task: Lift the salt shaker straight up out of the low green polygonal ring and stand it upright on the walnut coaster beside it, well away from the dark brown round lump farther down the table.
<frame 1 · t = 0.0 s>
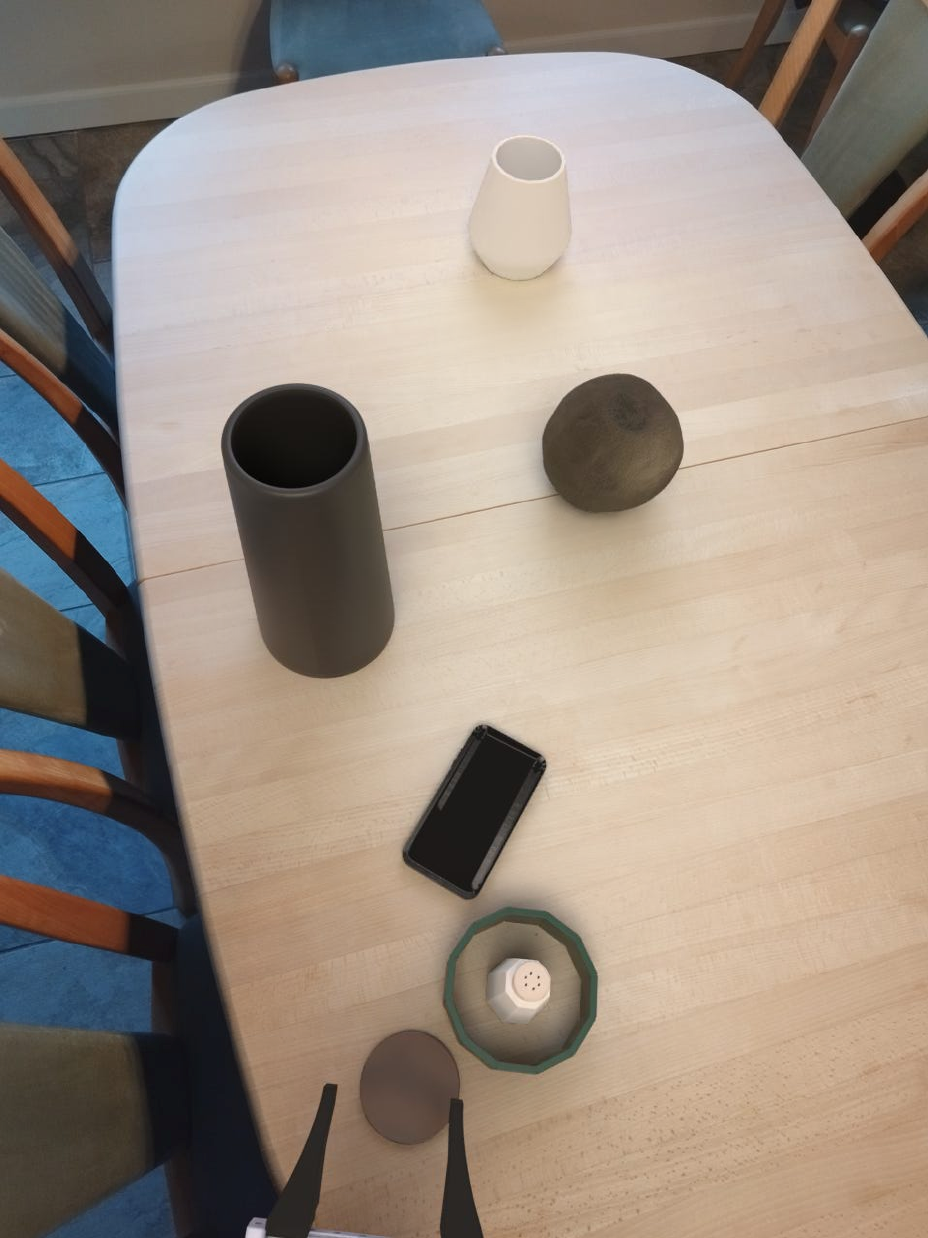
hand: (394, 1093, 52), 20 cm above the table, tool horizontal, fingers open, 7 cm apart
phone: (475, 810, 80), on the table
dark brown round lump: (596, 490, 98), on the table
vase: (327, 618, 89), on the table
salt shaker: (515, 991, 74), resting in green polygonal ring
coaster: (409, 1086, 70), on the table
cup: (515, 256, 114), on the table
green polygonal ring: (515, 991, 74), on the table
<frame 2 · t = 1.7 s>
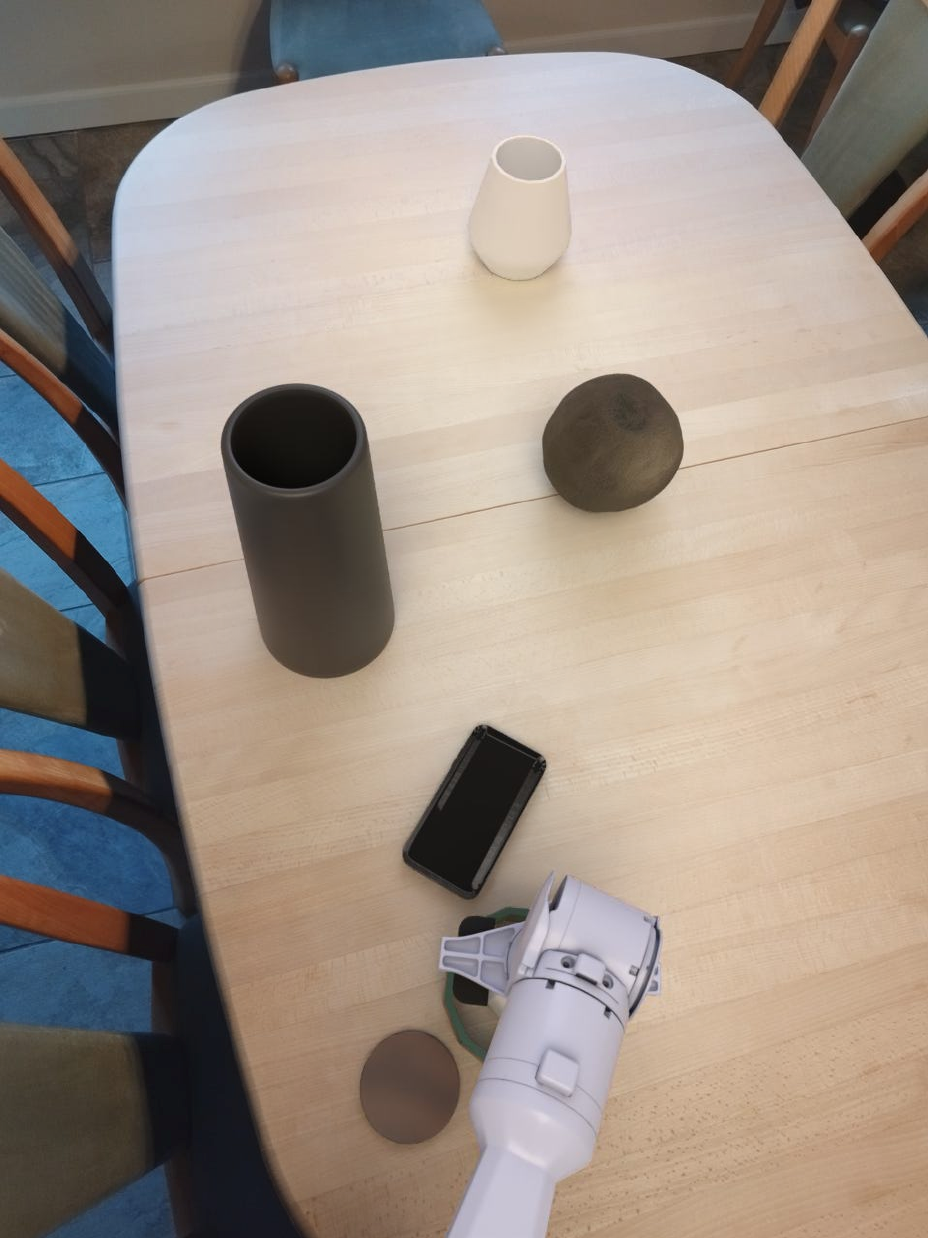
hand: (533, 974, 65), 10 cm above the table, tool pointing down, fingers open, 7 cm apart
nothing on the table moved.
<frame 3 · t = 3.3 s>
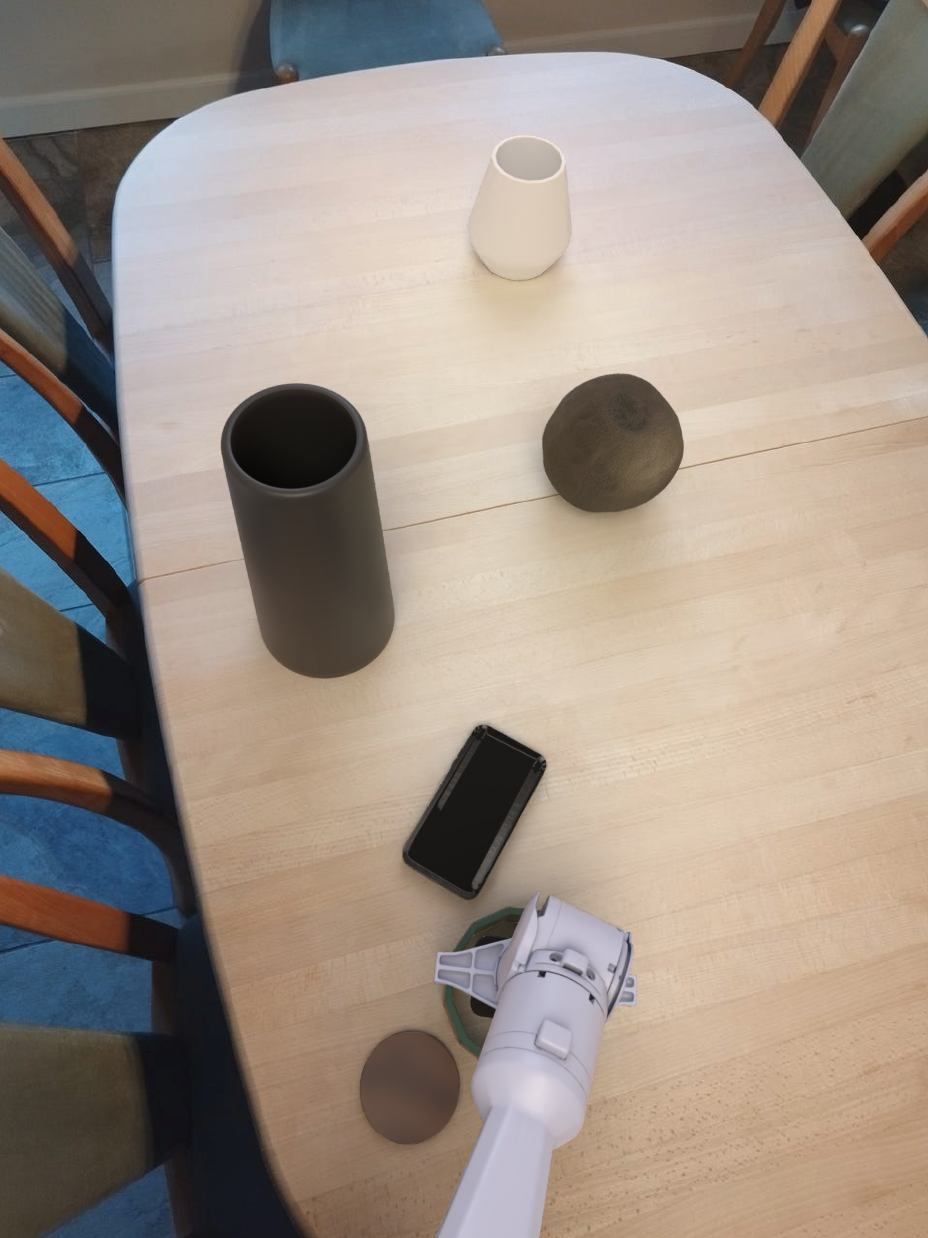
hand: (521, 987, 70), 4 cm above the table, tool pointing down, fingers closed on salt shaker, 3 cm apart
salt shaker: (515, 991, 74), resting in green polygonal ring, touching gripper
everything else where it was.
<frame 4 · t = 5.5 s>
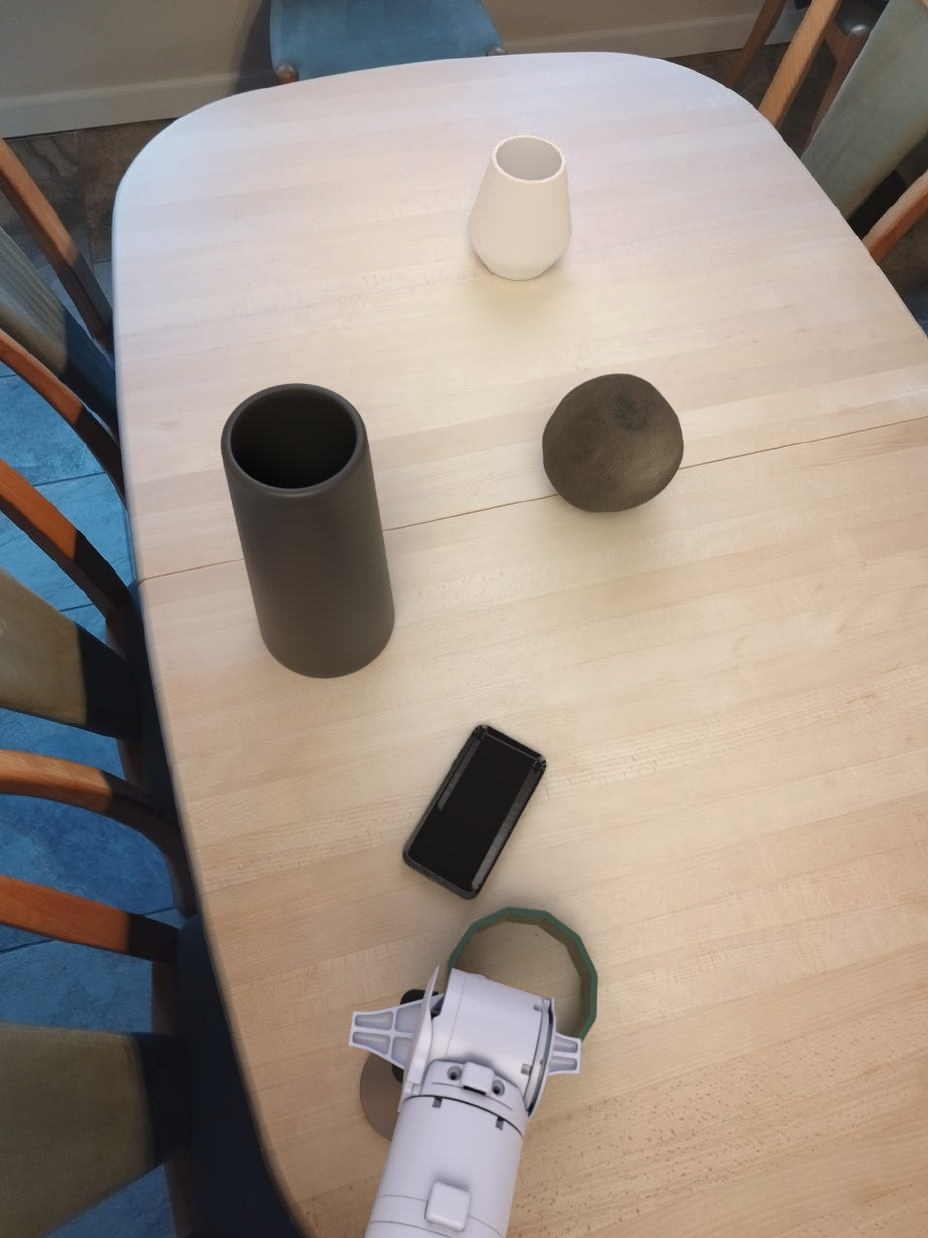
hand: (458, 1042, 62), 10 cm above the table, tool pointing down, fingers closed on salt shaker, 3 cm apart
salt shaker: (456, 1041, 66), point 6 cm above the table, touching gripper
everything else where it was.
when the fingers open (4 cm above the table, at t = 8.0 s): salt shaker stays where it is, resting on coaster.
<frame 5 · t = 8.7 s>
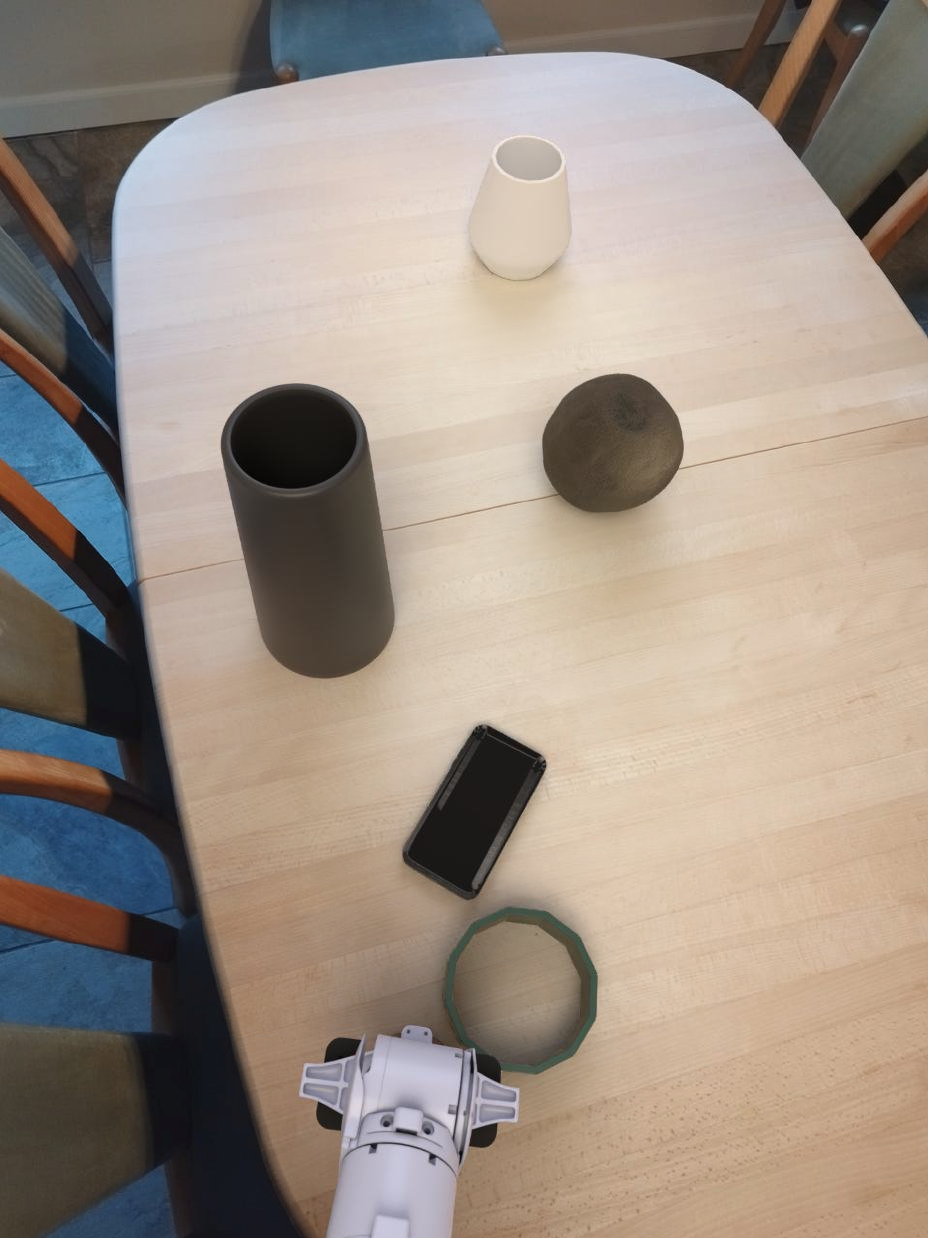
hand: (410, 1088, 66), 5 cm above the table, tool pointing down, fingers open, 7 cm apart
salt shaker: (409, 1086, 70), resting on coaster
everything else where it was.
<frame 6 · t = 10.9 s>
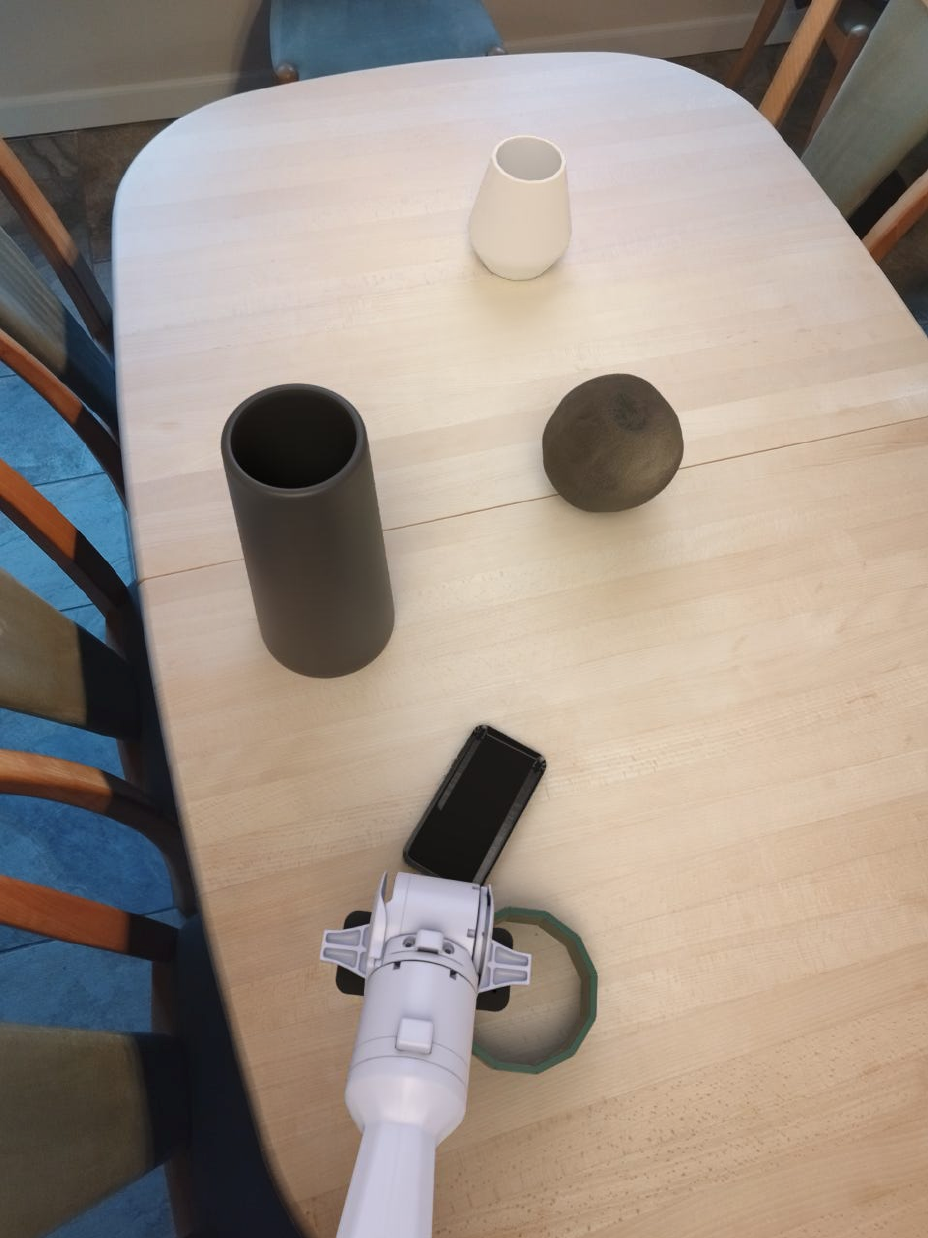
hand: (424, 969, 68), 7 cm above the table, tool pointing down, fingers open, 7 cm apart
nothing on the table moved.
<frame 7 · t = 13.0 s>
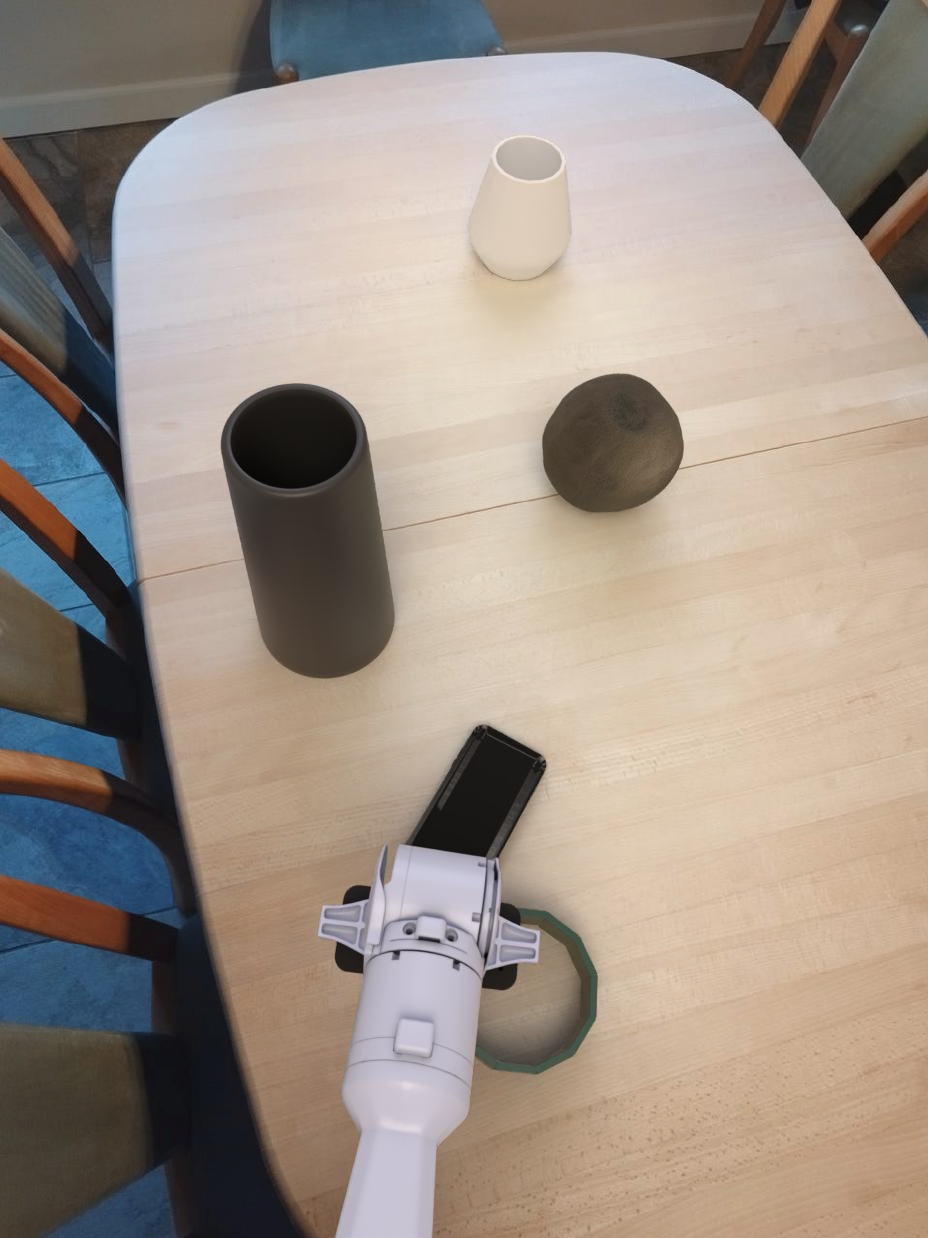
hand: (427, 945, 65), 10 cm above the table, tool pointing down, fingers open, 7 cm apart
nothing on the table moved.
at the end: salt shaker 0.0 cm off-centre on the coaster, point 0.4 cm above the coaster's base; salt shaker tilted 0°; salt shaker touching coaster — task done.
